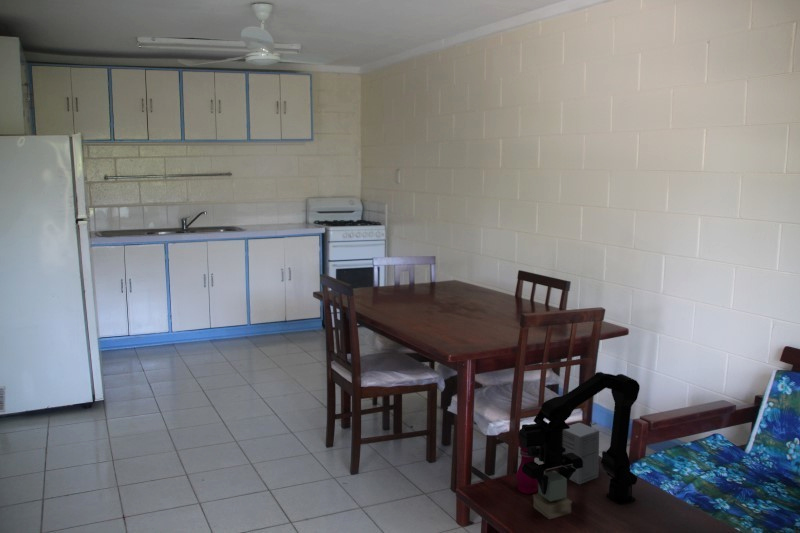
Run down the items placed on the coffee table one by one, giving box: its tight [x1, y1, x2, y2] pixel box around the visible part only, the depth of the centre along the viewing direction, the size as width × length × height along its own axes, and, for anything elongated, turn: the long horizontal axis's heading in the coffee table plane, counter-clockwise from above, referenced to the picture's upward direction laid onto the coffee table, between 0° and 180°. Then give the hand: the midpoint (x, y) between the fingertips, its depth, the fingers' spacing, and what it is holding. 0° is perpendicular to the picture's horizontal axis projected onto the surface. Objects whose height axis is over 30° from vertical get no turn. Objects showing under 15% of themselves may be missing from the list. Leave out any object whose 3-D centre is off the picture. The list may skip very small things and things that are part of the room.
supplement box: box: [563, 422, 600, 485], centre depth 226 cm, size 10×9×17 cm
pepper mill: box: [515, 441, 538, 495], centre depth 217 cm, size 7×7×20 cm
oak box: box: [532, 493, 573, 520], centre depth 205 cm, size 8×8×4 cm
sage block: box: [537, 470, 568, 501], centre depth 204 cm, size 6×6×6 cm
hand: (552, 491), depth 204 cm, fingers closed on sage block, 6 cm apart
